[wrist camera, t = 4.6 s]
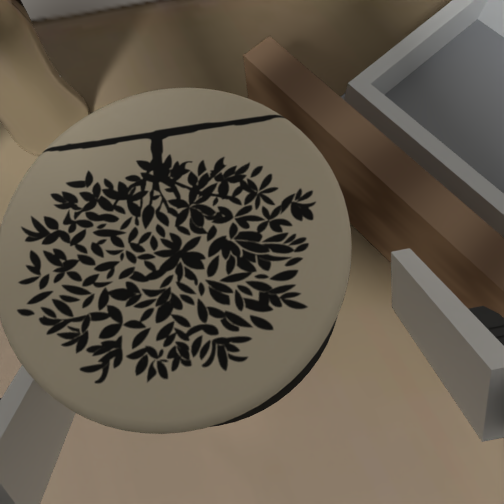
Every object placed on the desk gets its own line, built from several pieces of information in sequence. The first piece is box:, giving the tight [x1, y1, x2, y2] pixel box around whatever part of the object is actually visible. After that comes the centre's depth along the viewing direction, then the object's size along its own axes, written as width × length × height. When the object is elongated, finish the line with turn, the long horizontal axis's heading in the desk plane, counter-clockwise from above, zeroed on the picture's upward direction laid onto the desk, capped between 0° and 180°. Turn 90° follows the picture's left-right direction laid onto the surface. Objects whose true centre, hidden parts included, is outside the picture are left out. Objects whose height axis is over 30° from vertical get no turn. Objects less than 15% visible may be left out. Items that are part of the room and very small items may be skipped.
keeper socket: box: [341, 0, 504, 237], centre depth 27 cm, size 16×16×4 cm
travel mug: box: [0, 88, 352, 434], centre depth 17 cm, size 8×8×18 cm
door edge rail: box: [243, 36, 504, 318], centre depth 24 cm, size 22×2×7 cm, turn 41°
